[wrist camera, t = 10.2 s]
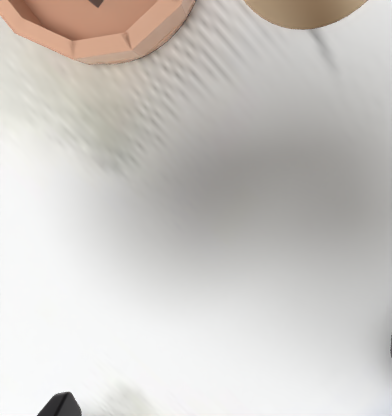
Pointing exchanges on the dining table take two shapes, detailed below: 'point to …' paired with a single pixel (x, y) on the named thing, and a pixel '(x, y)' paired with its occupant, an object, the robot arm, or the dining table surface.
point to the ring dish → (97, 26)
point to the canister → (96, 2)
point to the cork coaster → (303, 11)
